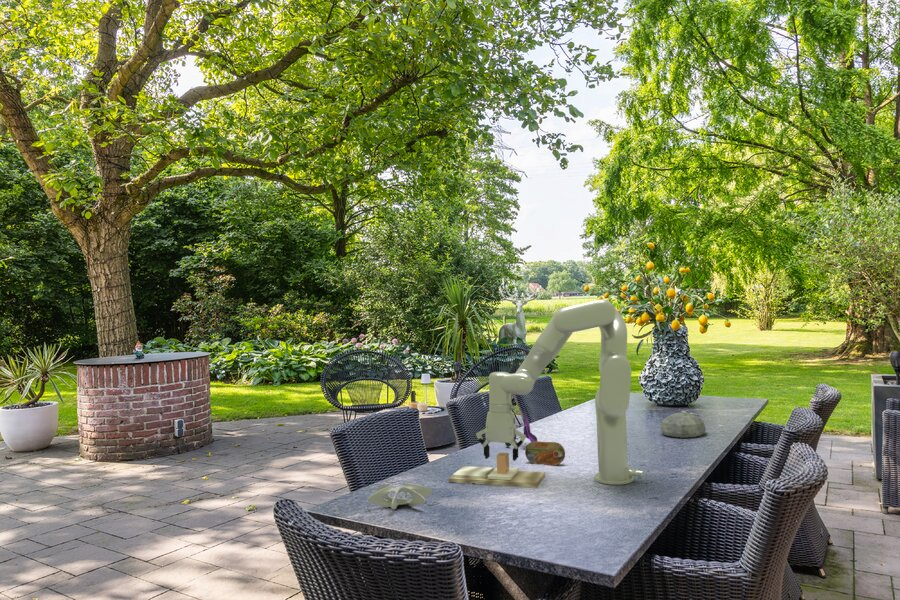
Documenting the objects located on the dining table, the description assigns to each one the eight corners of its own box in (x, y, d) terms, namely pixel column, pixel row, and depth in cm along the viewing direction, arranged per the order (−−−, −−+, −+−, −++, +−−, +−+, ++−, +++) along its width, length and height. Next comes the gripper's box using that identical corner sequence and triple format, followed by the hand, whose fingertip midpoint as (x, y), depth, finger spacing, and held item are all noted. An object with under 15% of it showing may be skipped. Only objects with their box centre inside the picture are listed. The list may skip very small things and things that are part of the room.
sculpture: (397, 493, 200) (396, 473, 200) (444, 504, 187) (444, 482, 188) (356, 508, 186) (355, 486, 187) (404, 520, 174) (404, 497, 174)
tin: (525, 463, 234) (524, 440, 234) (528, 461, 237) (527, 439, 237) (564, 466, 227) (563, 443, 227) (566, 464, 230) (565, 441, 230)
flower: (512, 463, 256) (540, 448, 253) (493, 431, 257) (522, 415, 255) (515, 455, 270) (542, 440, 268) (498, 424, 272) (524, 410, 269)
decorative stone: (651, 434, 279) (650, 412, 279) (685, 429, 288) (684, 407, 288) (681, 441, 263) (680, 417, 263) (716, 435, 272) (715, 412, 272)
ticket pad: (544, 476, 214) (544, 469, 214) (536, 487, 201) (536, 479, 201) (461, 472, 224) (461, 465, 224) (449, 482, 210) (448, 474, 211)
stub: (518, 471, 216) (517, 450, 216) (510, 480, 205) (509, 458, 205) (496, 470, 218) (496, 450, 219) (487, 478, 207) (486, 457, 207)
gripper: (527, 407, 213) (528, 458, 212) (479, 405, 218) (479, 454, 218) (522, 411, 206) (523, 463, 205) (472, 409, 211) (473, 459, 211)
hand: (500, 458), depth 212 cm, fingers open, 9 cm apart
